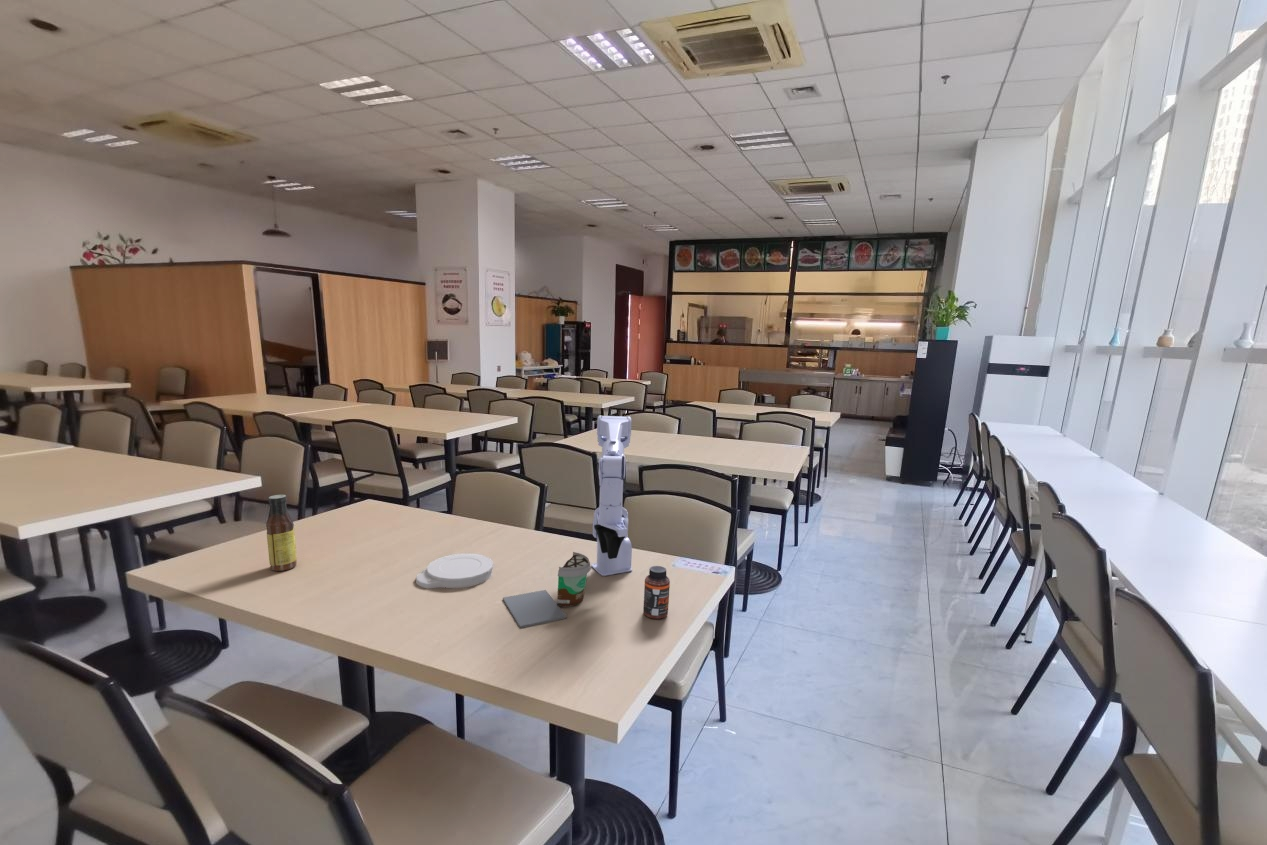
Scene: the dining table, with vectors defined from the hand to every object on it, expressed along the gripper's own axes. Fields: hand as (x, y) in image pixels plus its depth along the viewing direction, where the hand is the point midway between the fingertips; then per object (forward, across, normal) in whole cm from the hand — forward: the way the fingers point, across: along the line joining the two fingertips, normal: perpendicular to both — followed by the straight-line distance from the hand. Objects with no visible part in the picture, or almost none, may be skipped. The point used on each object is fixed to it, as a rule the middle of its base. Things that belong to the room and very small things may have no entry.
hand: (609, 555), depth 138 cm
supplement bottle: (+11, -14, -6) cm, 19 cm away
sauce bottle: (+11, +49, +74) cm, 89 cm away
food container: (+10, 0, +9) cm, 14 cm away
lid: (+11, +26, +33) cm, 43 cm away
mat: (+10, 0, +20) cm, 22 cm away
